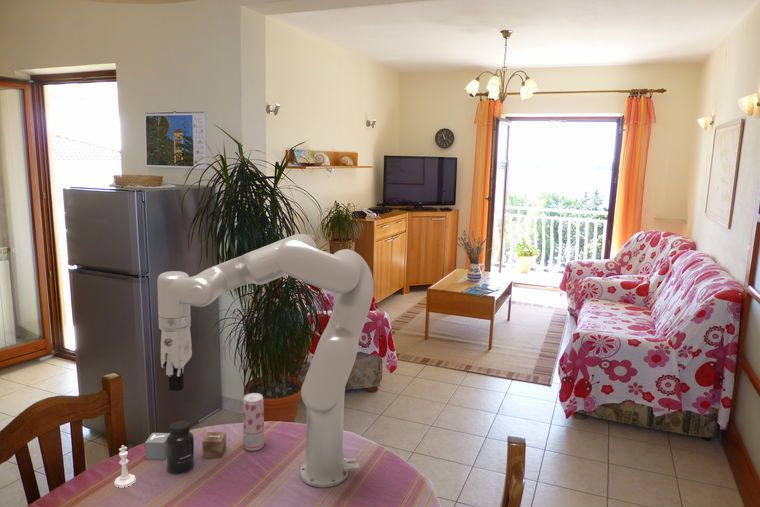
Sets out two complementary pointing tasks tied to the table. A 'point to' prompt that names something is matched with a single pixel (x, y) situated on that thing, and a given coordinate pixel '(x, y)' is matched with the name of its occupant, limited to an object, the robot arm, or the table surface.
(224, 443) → the walnut numbered block
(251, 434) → the beverage can
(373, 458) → the table surface
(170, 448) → the supplement bottle
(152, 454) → the slate-grey numbered block
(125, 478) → the chess piece
